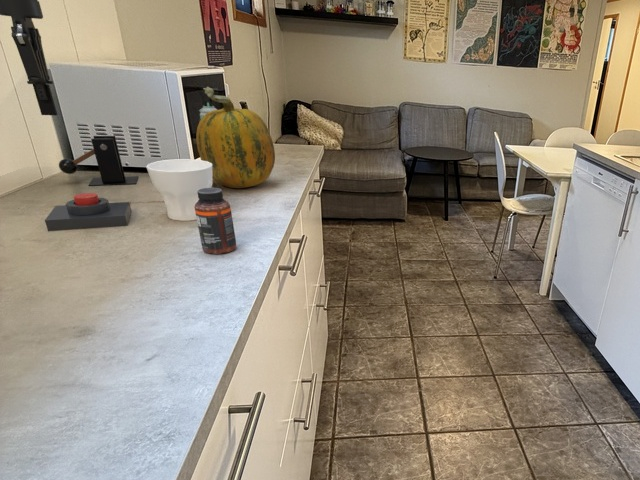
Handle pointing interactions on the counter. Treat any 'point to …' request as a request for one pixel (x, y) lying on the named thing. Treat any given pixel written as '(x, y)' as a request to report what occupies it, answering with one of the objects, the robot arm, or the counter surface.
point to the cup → (180, 184)
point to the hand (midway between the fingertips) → (49, 114)
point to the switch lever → (74, 162)
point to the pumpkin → (235, 144)
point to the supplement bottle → (214, 221)
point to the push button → (86, 199)
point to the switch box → (88, 215)
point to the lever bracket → (109, 163)
